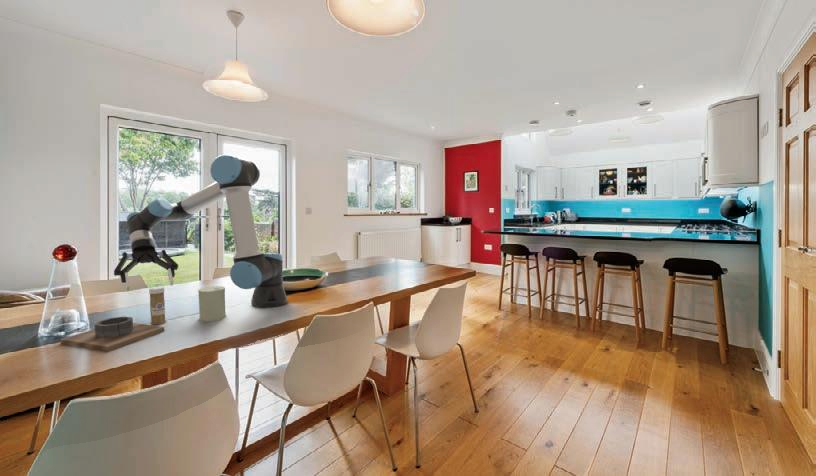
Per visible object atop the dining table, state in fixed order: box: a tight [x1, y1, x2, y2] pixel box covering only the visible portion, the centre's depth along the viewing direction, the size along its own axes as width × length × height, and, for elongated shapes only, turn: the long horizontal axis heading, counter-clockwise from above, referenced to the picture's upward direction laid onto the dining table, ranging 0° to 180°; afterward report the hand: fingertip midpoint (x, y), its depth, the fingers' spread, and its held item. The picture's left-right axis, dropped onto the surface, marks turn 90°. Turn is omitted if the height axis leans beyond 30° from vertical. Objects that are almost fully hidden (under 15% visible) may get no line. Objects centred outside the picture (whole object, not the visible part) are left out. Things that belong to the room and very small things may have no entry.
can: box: [198, 285, 227, 322], centre depth 135 cm, size 9×9×12 cm
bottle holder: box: [59, 316, 165, 352], centre depth 113 cm, size 20×18×6 cm
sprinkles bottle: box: [148, 286, 167, 326], centre depth 128 cm, size 5×5×14 cm
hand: (150, 286), depth 132 cm, fingers open, 13 cm apart
